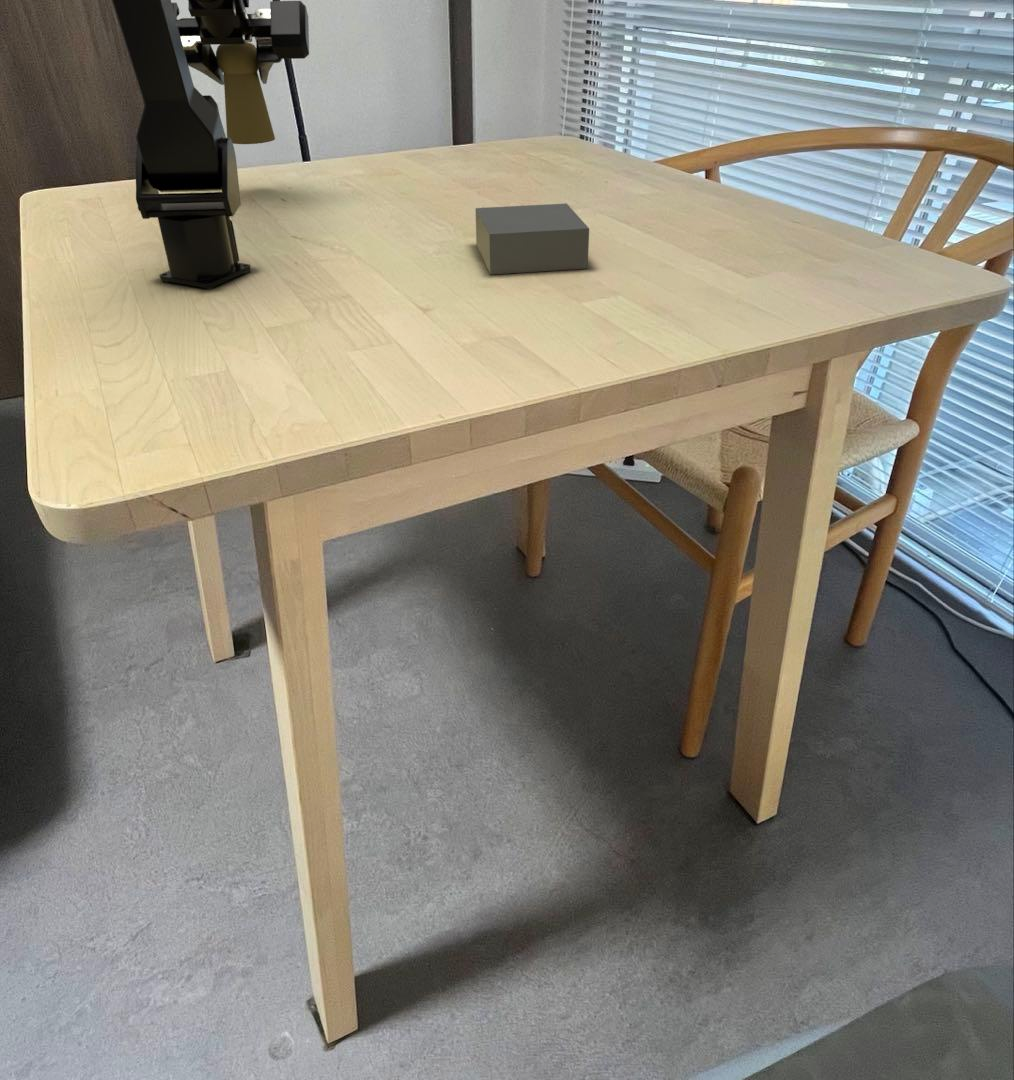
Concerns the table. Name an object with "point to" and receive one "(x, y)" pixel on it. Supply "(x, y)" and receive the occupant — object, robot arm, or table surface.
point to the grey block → (531, 238)
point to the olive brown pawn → (243, 95)
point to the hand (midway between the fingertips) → (244, 81)
